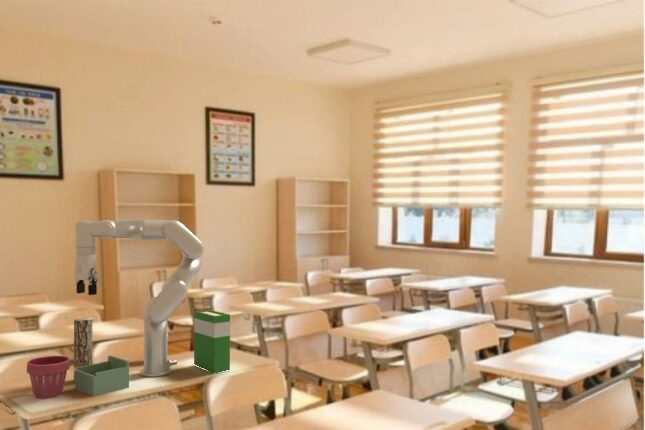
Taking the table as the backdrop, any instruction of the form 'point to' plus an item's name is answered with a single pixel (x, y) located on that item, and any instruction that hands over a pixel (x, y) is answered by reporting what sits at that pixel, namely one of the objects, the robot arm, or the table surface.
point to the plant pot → (48, 375)
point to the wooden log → (82, 342)
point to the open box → (103, 376)
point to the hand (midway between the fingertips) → (86, 293)
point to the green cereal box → (212, 340)
